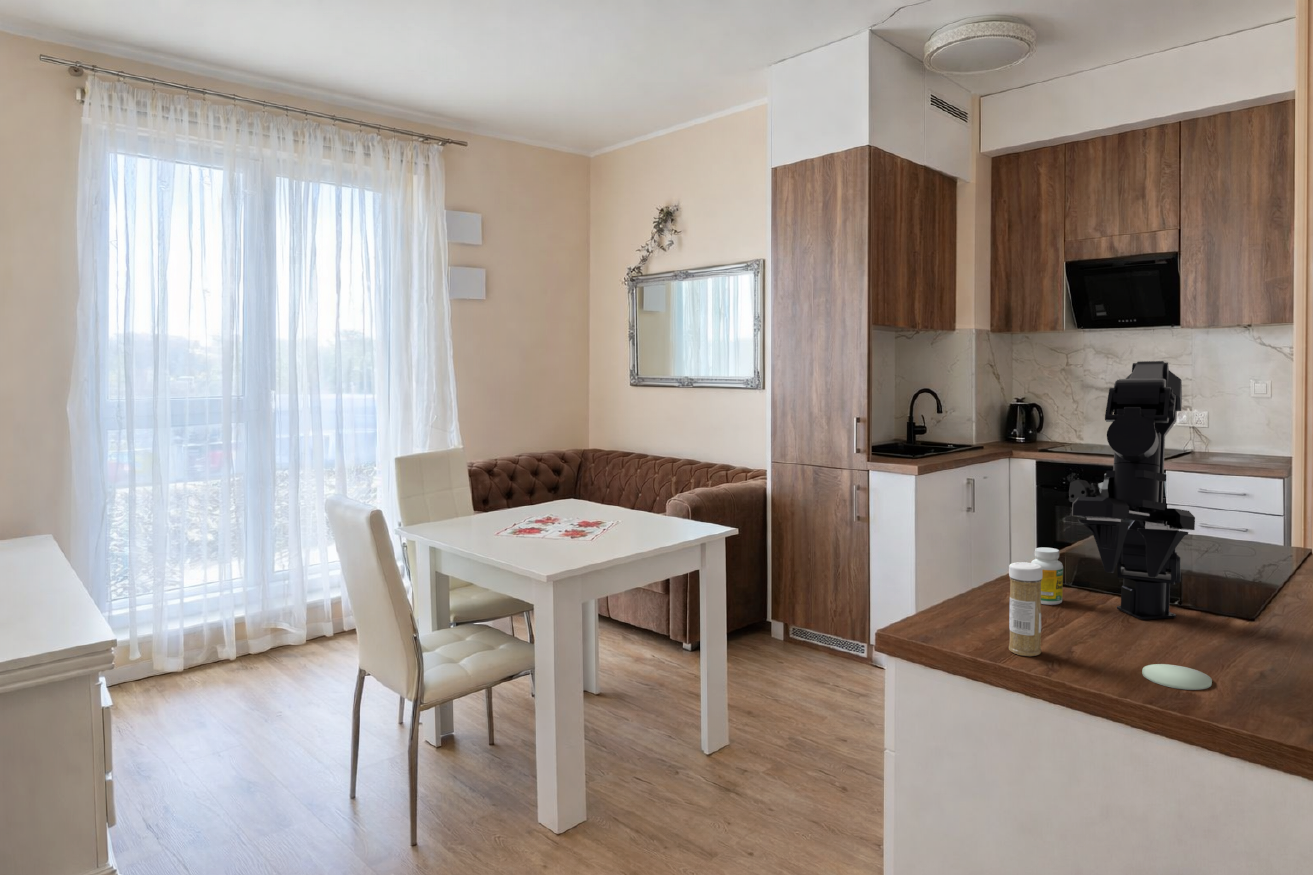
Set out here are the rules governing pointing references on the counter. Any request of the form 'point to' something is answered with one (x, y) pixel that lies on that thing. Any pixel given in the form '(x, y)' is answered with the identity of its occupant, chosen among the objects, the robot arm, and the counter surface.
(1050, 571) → the supplement bottle
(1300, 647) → the counter surface
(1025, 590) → the sprinkles bottle
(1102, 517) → the robot arm
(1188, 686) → the mat
